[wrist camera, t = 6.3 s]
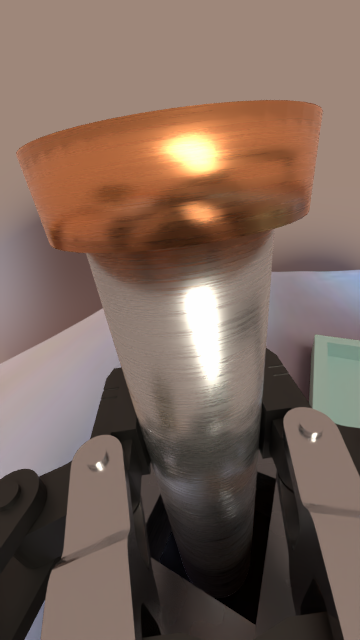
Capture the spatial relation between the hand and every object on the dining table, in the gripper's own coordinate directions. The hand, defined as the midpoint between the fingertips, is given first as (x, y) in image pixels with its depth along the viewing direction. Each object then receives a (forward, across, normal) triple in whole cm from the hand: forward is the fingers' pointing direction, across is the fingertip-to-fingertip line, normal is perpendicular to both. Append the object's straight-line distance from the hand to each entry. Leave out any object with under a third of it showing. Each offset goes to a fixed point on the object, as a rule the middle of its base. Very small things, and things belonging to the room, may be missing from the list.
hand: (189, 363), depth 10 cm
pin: (-3, 0, +10) cm, 10 cm away
